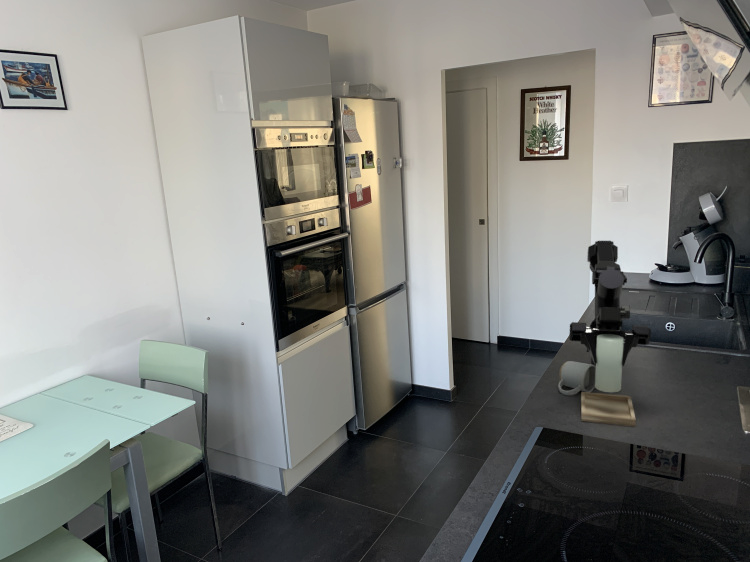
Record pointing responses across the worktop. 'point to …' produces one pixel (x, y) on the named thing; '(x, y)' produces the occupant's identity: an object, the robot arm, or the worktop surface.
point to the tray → (607, 409)
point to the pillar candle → (609, 362)
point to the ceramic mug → (577, 377)
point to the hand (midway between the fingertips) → (609, 364)
